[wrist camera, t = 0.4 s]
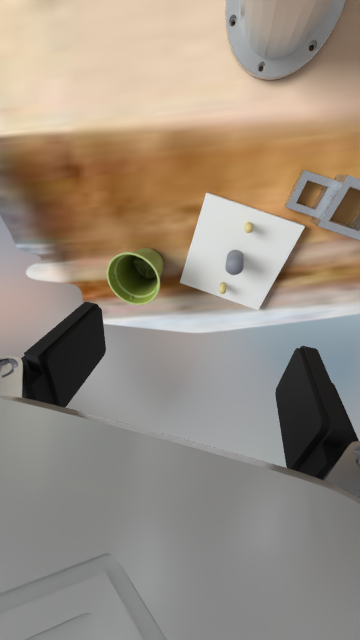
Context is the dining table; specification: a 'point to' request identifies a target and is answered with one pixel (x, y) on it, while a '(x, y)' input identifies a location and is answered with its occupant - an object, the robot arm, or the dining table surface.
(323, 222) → the bracket
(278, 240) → the post block
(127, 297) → the plant pot
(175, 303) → the dining table surface
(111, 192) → the dining table surface
